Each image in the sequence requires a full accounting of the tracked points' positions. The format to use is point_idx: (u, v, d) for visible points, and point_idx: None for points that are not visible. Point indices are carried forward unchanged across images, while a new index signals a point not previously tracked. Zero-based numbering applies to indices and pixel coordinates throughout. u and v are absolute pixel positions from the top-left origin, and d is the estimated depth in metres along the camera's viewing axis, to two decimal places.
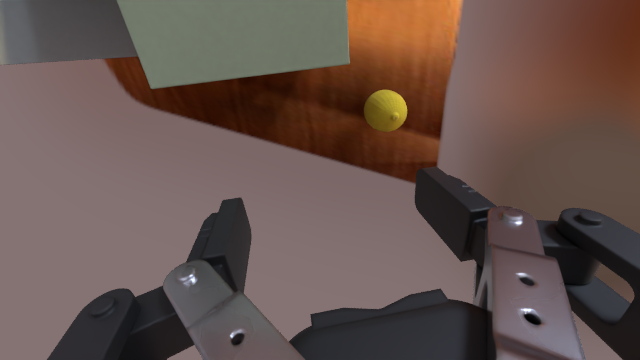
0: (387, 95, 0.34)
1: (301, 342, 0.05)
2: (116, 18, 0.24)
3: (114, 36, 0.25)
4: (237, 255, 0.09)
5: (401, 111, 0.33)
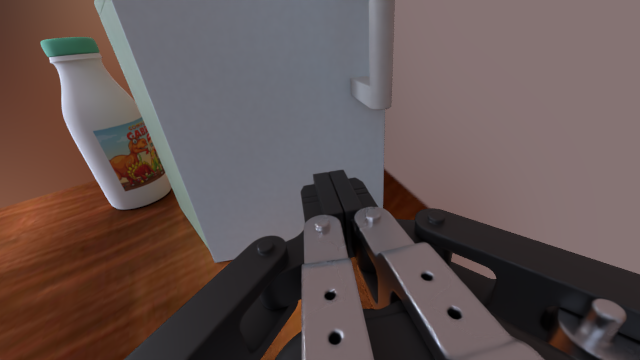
0: None
1: (301, 342, 0.05)
2: None
3: None
4: None
5: None
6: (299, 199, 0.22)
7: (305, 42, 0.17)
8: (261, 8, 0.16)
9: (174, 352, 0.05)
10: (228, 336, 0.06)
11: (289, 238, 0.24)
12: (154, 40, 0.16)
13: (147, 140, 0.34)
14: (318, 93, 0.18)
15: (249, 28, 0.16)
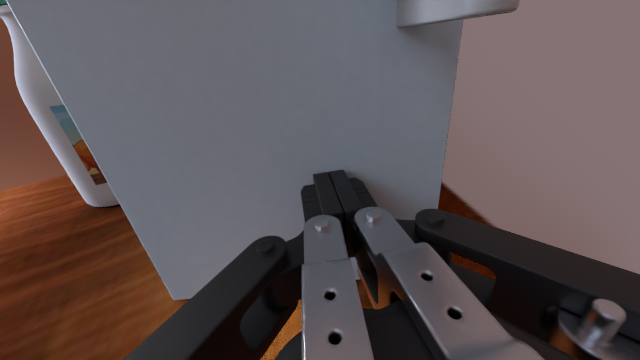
0: None
1: (301, 342, 0.05)
2: None
3: None
4: None
5: None
6: (298, 215, 0.14)
7: None
8: None
9: (174, 352, 0.05)
10: (228, 336, 0.06)
11: None
12: None
13: None
14: (333, 22, 0.10)
15: None
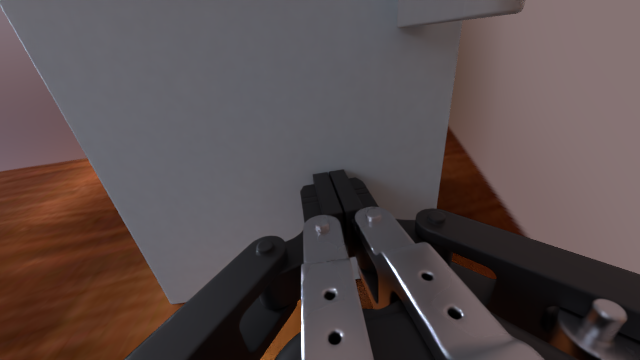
0: None
1: (301, 342, 0.05)
2: None
3: None
4: None
5: None
6: (299, 215, 0.14)
7: None
8: None
9: (174, 352, 0.05)
10: (228, 336, 0.06)
11: None
12: None
13: None
14: (334, 22, 0.10)
15: None
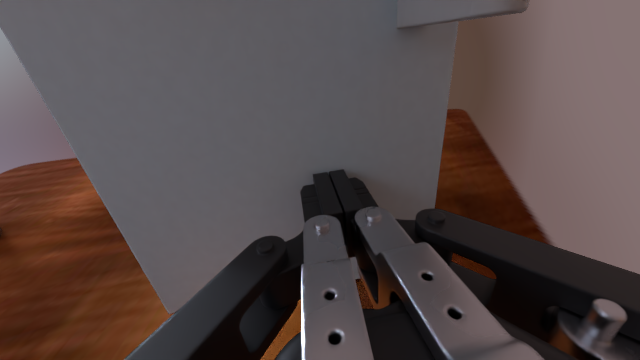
0: None
1: (301, 342, 0.05)
2: None
3: None
4: None
5: None
6: (300, 217, 0.13)
7: None
8: None
9: (174, 352, 0.05)
10: (228, 336, 0.06)
11: None
12: None
13: None
14: (336, 23, 0.10)
15: None
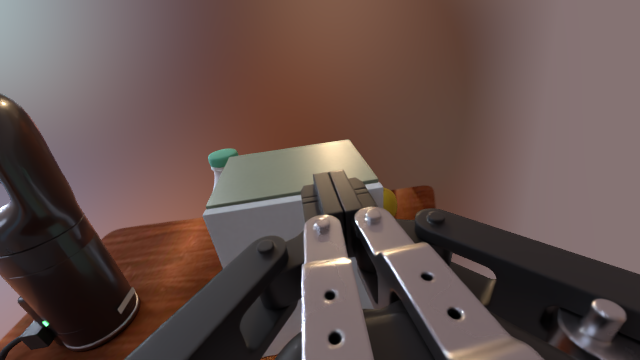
0: None
1: (301, 342, 0.05)
2: None
3: None
4: None
5: None
6: None
7: None
8: (300, 224, 0.24)
9: (174, 352, 0.05)
10: (228, 336, 0.06)
11: None
12: (231, 245, 0.24)
13: None
14: None
15: (292, 234, 0.24)
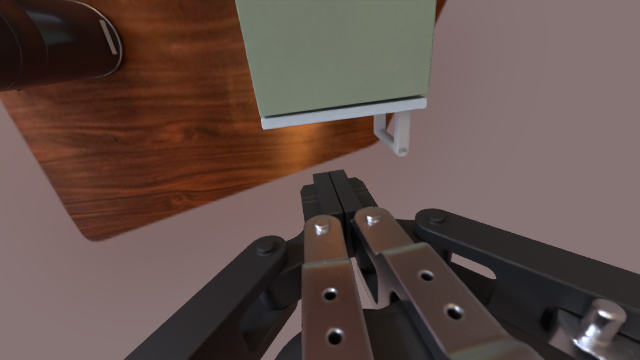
0: None
1: (301, 342, 0.05)
2: None
3: None
4: None
5: None
6: None
7: None
8: None
9: (174, 352, 0.05)
10: (228, 336, 0.06)
11: None
12: None
13: None
14: None
15: None
